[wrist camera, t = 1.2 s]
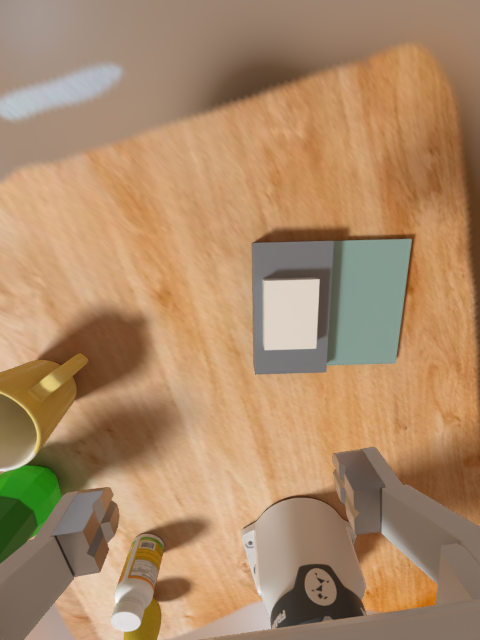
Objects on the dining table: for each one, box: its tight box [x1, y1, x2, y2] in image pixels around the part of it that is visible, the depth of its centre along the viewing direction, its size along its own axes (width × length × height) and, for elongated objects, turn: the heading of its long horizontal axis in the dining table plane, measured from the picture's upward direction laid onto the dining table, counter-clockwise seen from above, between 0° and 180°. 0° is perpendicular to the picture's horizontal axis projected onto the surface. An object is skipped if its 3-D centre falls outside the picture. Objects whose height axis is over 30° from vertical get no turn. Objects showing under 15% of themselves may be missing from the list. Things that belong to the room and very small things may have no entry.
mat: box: [327, 239, 412, 365], centre depth 35 cm, size 16×10×1 cm, turn 2°
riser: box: [252, 241, 334, 374], centre depth 34 cm, size 16×9×3 cm, turn 2°
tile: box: [263, 277, 320, 350], centre depth 31 cm, size 8×6×2 cm
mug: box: [0, 353, 88, 471], centre depth 32 cm, size 14×10×10 cm
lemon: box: [124, 598, 161, 640], centre depth 45 cm, size 6×6×8 cm
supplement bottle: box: [111, 534, 164, 632], centre depth 41 cm, size 5×5×10 cm
